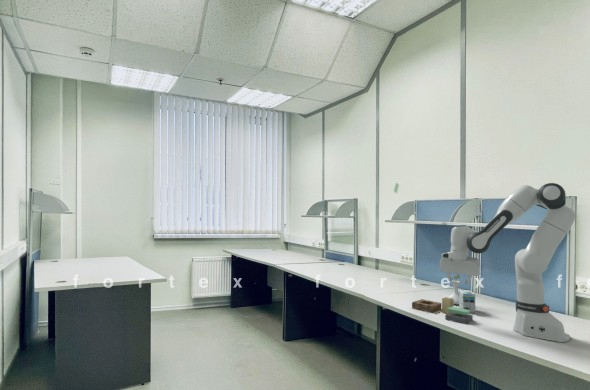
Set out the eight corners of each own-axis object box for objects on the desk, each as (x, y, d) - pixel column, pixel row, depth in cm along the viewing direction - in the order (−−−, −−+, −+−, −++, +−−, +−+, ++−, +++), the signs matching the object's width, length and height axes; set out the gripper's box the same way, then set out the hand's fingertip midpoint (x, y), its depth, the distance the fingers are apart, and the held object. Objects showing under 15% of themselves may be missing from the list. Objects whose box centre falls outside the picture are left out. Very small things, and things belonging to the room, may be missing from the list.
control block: (472, 320, 196) (472, 315, 196) (464, 323, 189) (464, 318, 189) (453, 316, 203) (453, 311, 203) (445, 319, 196) (445, 314, 196)
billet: (453, 313, 209) (453, 298, 209) (449, 314, 206) (450, 299, 206) (445, 311, 212) (445, 297, 213) (442, 312, 209) (442, 298, 210)
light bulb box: (475, 313, 209) (475, 294, 210) (462, 312, 211) (463, 293, 211) (470, 308, 220) (470, 290, 220) (458, 307, 221) (458, 289, 222)
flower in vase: (459, 306, 223) (459, 264, 224) (442, 302, 232) (442, 262, 233) (471, 304, 231) (471, 263, 232) (453, 300, 240) (454, 261, 241)
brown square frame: (441, 309, 217) (441, 303, 217) (431, 312, 209) (431, 306, 209) (422, 305, 226) (422, 299, 226) (412, 308, 217) (412, 302, 218)
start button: (471, 316, 194) (471, 310, 194) (466, 318, 190) (466, 312, 190) (452, 312, 202) (452, 306, 202) (447, 314, 197) (447, 308, 198)
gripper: (482, 257, 192) (481, 284, 191) (443, 253, 207) (443, 278, 206) (477, 258, 188) (476, 286, 187) (438, 253, 203) (437, 279, 202)
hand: (458, 282), depth 197 cm, fingers open, 8 cm apart
